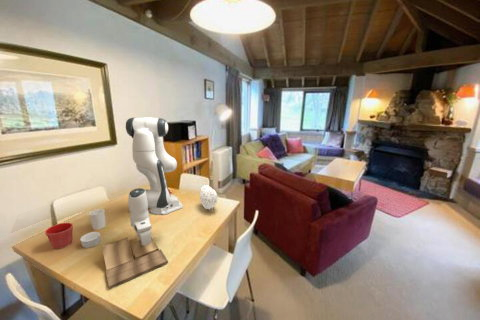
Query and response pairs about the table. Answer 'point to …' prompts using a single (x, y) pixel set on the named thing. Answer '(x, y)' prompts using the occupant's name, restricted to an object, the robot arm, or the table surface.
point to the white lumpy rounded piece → (208, 197)
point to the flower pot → (60, 235)
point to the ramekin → (90, 239)
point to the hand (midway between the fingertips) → (142, 243)
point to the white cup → (97, 218)
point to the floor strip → (135, 268)
